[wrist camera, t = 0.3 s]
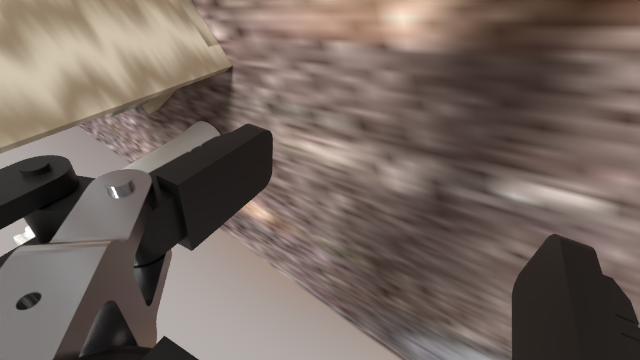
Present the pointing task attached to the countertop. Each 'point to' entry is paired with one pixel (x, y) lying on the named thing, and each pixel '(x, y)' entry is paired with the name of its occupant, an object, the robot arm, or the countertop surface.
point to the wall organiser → (95, 61)
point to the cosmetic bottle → (159, 157)
